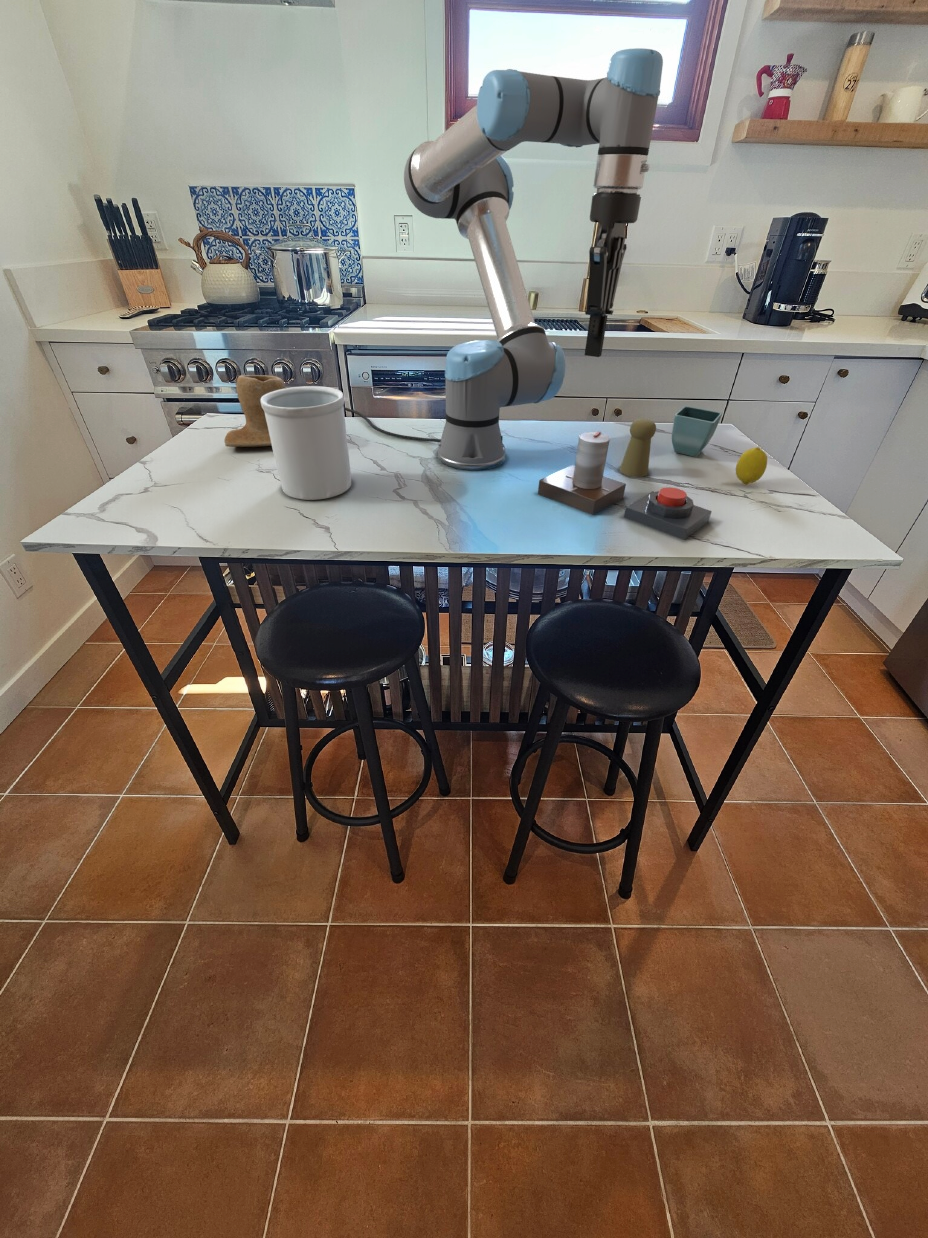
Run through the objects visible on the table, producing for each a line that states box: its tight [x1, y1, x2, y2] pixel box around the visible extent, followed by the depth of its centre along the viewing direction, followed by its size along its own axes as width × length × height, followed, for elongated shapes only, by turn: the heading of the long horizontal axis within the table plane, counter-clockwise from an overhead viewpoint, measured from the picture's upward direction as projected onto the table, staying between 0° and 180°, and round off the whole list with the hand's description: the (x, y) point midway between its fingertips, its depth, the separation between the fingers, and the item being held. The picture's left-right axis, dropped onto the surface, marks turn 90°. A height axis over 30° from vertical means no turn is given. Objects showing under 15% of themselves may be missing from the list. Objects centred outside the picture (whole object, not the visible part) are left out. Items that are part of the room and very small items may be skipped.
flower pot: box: [671, 405, 723, 458], centre depth 127 cm, size 9×9×9 cm
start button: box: [657, 486, 688, 507], centre depth 99 cm, size 5×5×2 cm
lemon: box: [735, 446, 768, 486], centre depth 113 cm, size 6×6×8 cm
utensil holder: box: [260, 385, 352, 501], centre depth 105 cm, size 15×15×18 cm
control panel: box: [537, 464, 627, 516], centre depth 108 cm, size 13×11×3 cm
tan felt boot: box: [223, 374, 286, 448], centre depth 125 cm, size 15×12×15 cm
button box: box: [623, 490, 712, 541], centre depth 101 cm, size 12×10×4 cm
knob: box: [573, 430, 611, 489], centre depth 104 cm, size 6×6×9 cm
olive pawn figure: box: [619, 418, 657, 478], centre depth 116 cm, size 6×6×11 cm
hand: (592, 355), depth 100 cm, fingers closed
